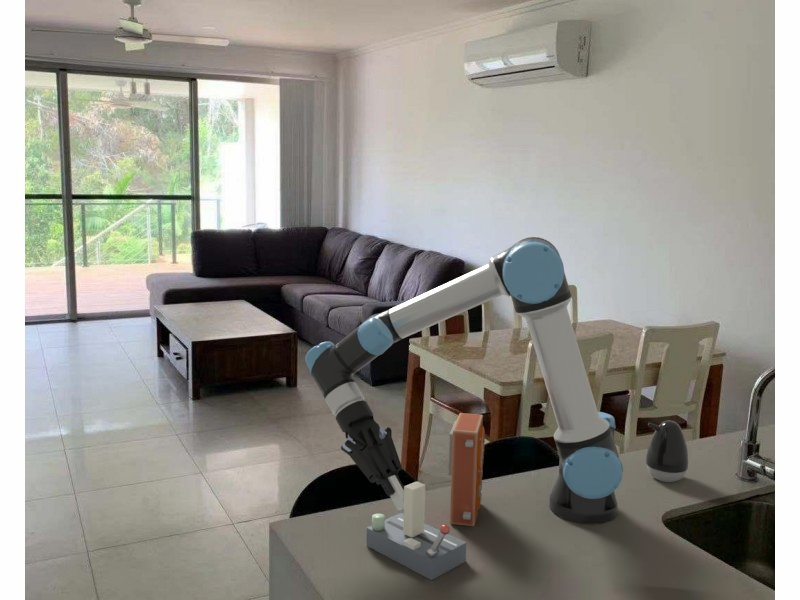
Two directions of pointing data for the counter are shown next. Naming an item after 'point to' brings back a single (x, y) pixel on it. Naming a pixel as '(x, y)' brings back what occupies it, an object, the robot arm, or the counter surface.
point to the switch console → (417, 548)
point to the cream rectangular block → (414, 509)
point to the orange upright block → (466, 468)
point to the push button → (378, 522)
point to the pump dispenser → (667, 452)
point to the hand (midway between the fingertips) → (404, 507)
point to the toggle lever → (438, 541)
